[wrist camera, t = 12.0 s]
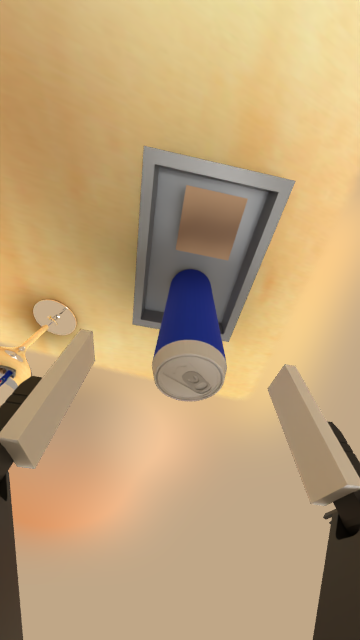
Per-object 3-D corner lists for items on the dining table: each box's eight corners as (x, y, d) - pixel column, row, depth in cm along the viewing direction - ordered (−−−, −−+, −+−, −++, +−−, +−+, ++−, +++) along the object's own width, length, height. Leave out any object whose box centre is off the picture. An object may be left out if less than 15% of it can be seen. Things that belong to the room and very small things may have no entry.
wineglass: (91, 336, 32) (0, 466, 17) (45, 341, 33) (-79, 466, 18) (67, 290, 28) (-83, 409, 12) (16, 297, 29) (-181, 414, 14)
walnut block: (187, 186, 20) (186, 185, 15) (236, 197, 20) (247, 198, 16) (178, 238, 22) (175, 249, 18) (221, 247, 23) (228, 260, 18)
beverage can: (162, 286, 26) (133, 377, 13) (191, 258, 23) (191, 335, 11) (189, 311, 27) (187, 412, 15) (218, 288, 25) (245, 383, 13)
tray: (151, 152, 19) (143, 145, 16) (280, 182, 20) (295, 181, 17) (138, 310, 29) (132, 324, 26) (225, 326, 29) (228, 341, 27)
